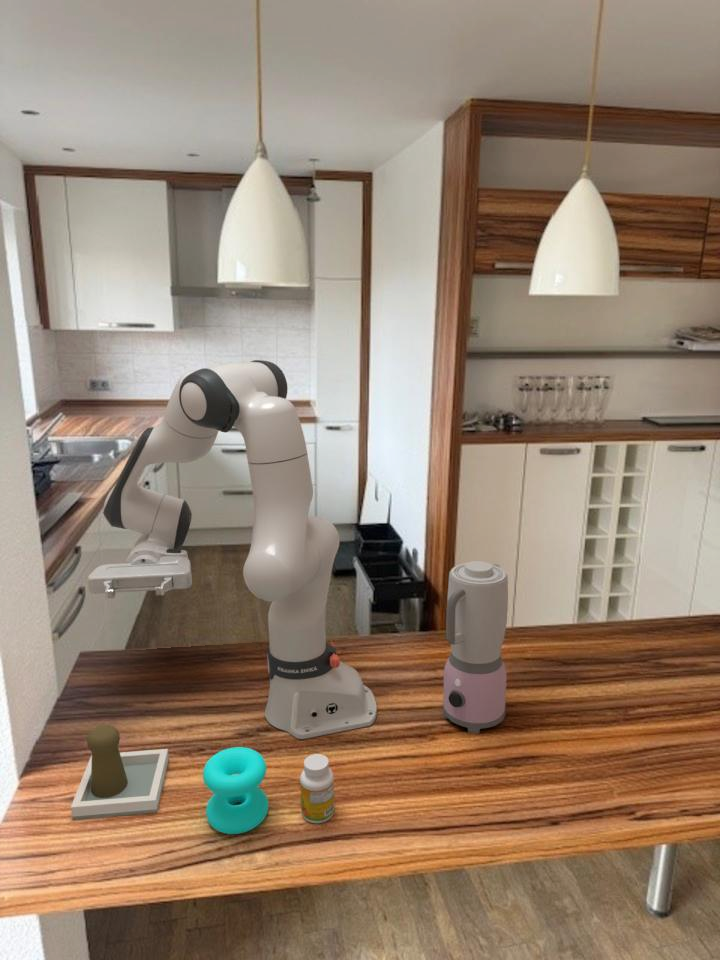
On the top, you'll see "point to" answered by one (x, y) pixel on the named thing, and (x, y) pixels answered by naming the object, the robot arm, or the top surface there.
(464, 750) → the top surface
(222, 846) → the top surface
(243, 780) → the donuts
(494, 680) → the blender
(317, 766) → the supplement bottle
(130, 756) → the picture frame
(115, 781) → the olive brown pawn
